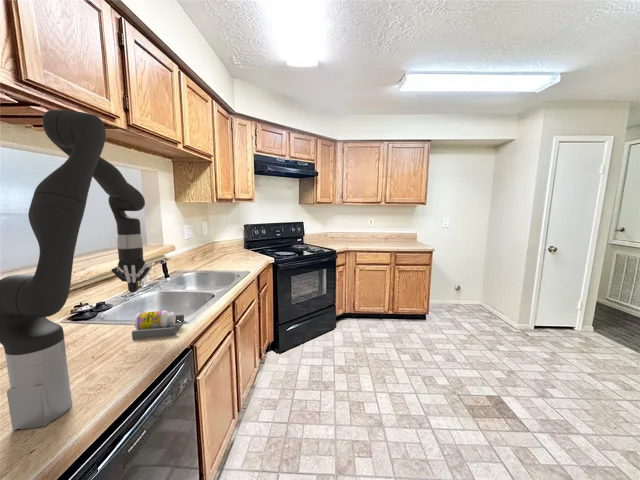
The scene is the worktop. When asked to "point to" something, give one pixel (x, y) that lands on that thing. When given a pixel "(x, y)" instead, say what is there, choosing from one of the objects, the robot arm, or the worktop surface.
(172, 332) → the cradle tray
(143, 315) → the supplement bottle
